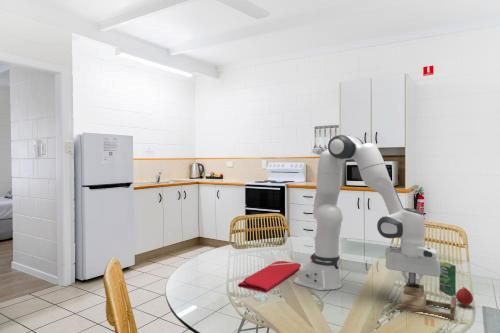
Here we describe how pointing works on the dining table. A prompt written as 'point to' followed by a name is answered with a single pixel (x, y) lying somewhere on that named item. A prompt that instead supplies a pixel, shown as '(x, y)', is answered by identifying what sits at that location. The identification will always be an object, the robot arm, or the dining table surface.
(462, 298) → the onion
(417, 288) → the crate
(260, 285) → the red folded cloth
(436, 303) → the bay
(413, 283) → the handle peg
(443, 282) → the coffee box
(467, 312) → the dining table surface
